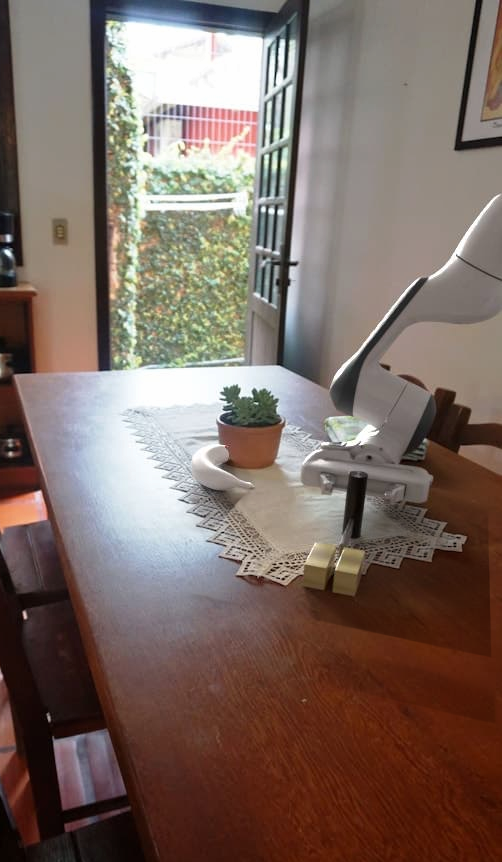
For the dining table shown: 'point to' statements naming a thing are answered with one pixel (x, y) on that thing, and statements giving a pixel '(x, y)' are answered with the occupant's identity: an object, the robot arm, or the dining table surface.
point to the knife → (353, 508)
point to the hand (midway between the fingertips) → (357, 495)
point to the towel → (352, 427)
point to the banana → (214, 469)
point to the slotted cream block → (345, 572)
